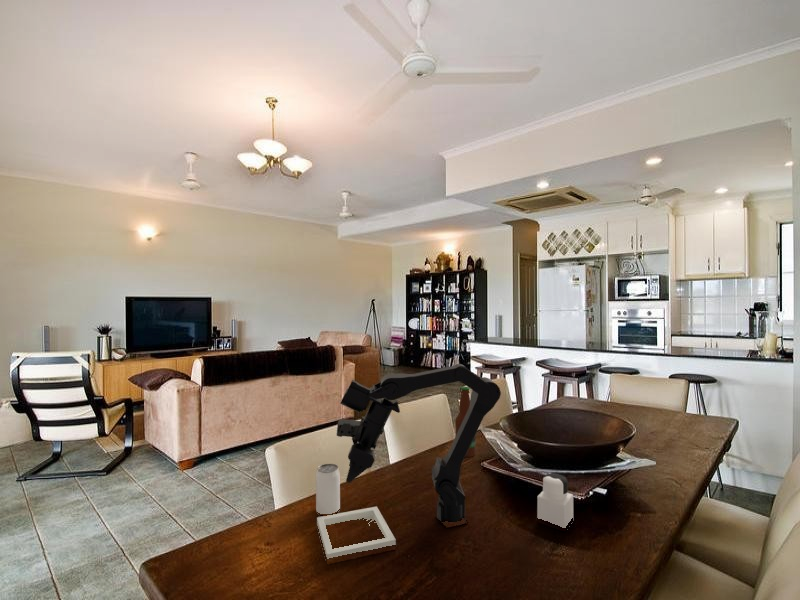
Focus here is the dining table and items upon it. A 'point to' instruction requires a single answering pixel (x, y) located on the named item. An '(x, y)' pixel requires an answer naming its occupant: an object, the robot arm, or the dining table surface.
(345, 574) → the dining table surface
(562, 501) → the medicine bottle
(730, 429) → the dining table surface
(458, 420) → the bottle
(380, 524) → the tray
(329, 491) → the can
